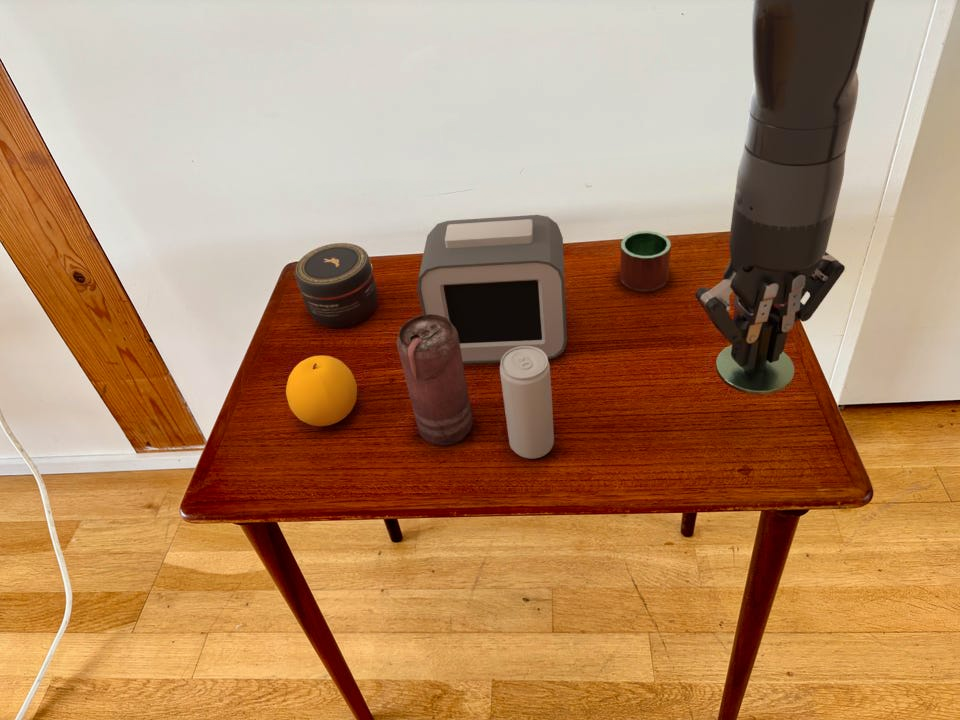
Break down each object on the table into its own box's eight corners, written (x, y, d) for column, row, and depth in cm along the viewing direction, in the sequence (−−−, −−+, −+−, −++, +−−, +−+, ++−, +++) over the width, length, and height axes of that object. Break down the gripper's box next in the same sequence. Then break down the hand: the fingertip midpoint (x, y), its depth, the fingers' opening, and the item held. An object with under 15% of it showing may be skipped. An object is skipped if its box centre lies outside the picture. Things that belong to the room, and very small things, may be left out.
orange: (295, 396, 85) (276, 349, 80) (359, 381, 86) (345, 334, 81) (296, 444, 80) (276, 397, 75) (365, 428, 80) (350, 380, 75)
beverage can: (543, 421, 78) (536, 338, 70) (562, 452, 74) (558, 368, 66) (502, 436, 77) (491, 354, 69) (520, 468, 73) (510, 385, 65)
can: (410, 445, 77) (384, 349, 68) (430, 404, 82) (408, 308, 73) (462, 453, 76) (443, 356, 66) (480, 411, 80) (464, 314, 71)
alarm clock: (433, 364, 87) (410, 258, 76) (442, 307, 95) (423, 204, 85) (567, 359, 85) (563, 249, 74) (565, 301, 93) (561, 195, 83)
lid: (764, 342, 71) (774, 289, 67) (808, 386, 66) (822, 332, 62) (701, 362, 71) (707, 309, 66) (741, 408, 65) (750, 355, 61)
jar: (327, 284, 102) (313, 239, 97) (391, 289, 100) (380, 243, 94) (296, 328, 95) (279, 282, 90) (364, 335, 93) (350, 288, 88)
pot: (654, 260, 98) (656, 226, 94) (676, 284, 93) (679, 249, 89) (612, 272, 97) (613, 238, 93) (633, 297, 92) (634, 262, 89)
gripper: (732, 244, 52) (711, 408, 64) (895, 196, 54) (846, 364, 66) (681, 199, 58) (670, 357, 69) (830, 157, 60) (795, 317, 71)
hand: (756, 360), depth 67 cm, fingers closed on lid
